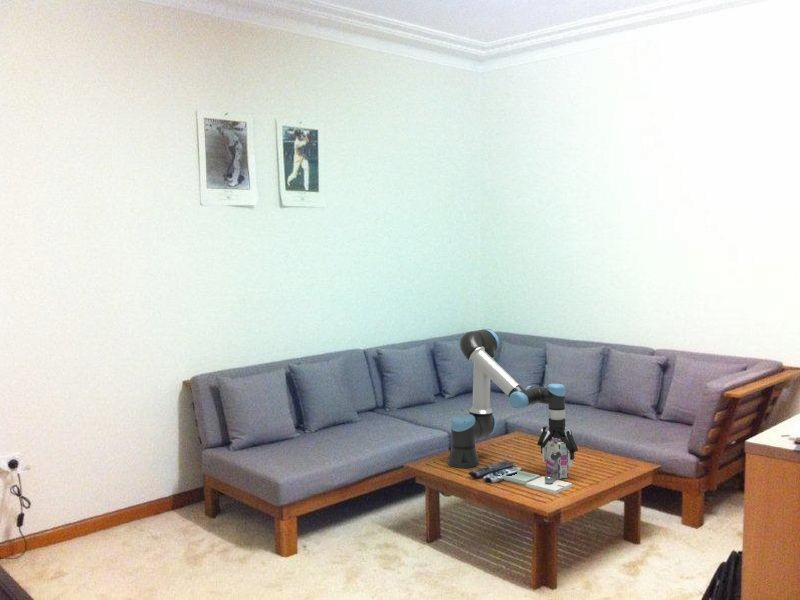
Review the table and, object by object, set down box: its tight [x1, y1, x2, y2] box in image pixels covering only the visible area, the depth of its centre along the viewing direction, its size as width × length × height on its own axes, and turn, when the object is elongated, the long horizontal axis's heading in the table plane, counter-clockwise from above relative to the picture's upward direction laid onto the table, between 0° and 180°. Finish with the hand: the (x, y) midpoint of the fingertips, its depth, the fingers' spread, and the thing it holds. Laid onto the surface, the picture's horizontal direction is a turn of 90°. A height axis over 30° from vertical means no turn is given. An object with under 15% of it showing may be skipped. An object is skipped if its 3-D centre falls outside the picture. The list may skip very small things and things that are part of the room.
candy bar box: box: [545, 438, 569, 480], centre depth 332 cm, size 11×5×16 cm, turn 21°
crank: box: [544, 452, 561, 484], centre depth 319 cm, size 11×4×11 cm, turn 142°
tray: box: [498, 469, 541, 487], centre depth 328 cm, size 17×11×2 cm, turn 45°
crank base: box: [525, 476, 573, 495], centre depth 317 cm, size 15×13×2 cm
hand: (557, 463), depth 332 cm, fingers open, 13 cm apart
